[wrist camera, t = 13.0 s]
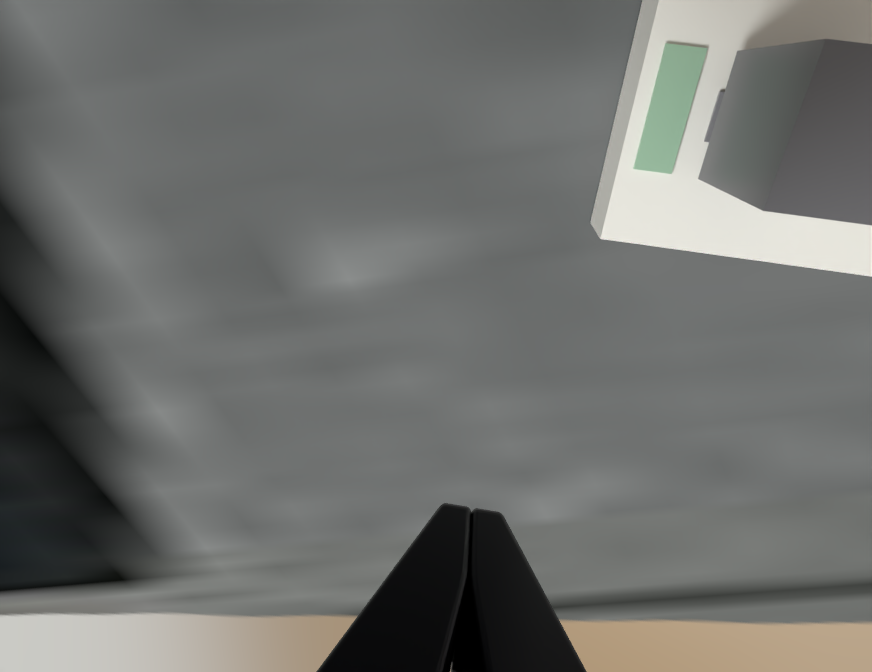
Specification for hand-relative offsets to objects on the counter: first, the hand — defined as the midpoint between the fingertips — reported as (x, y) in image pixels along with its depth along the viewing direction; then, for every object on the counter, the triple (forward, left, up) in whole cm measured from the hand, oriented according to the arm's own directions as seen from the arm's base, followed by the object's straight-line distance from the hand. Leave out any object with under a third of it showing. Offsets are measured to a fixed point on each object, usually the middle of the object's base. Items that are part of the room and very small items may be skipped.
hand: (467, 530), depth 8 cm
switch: (+6, +6, -10) cm, 13 cm away
